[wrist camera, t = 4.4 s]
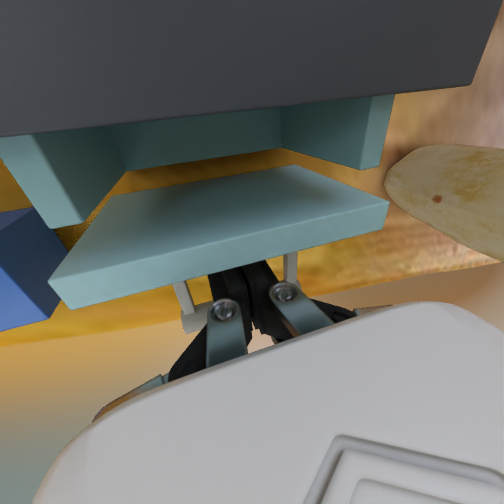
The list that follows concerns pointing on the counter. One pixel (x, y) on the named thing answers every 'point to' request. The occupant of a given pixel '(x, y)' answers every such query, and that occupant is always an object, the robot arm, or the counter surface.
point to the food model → (454, 193)
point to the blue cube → (27, 268)
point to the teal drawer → (199, 196)
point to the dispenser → (223, 56)
